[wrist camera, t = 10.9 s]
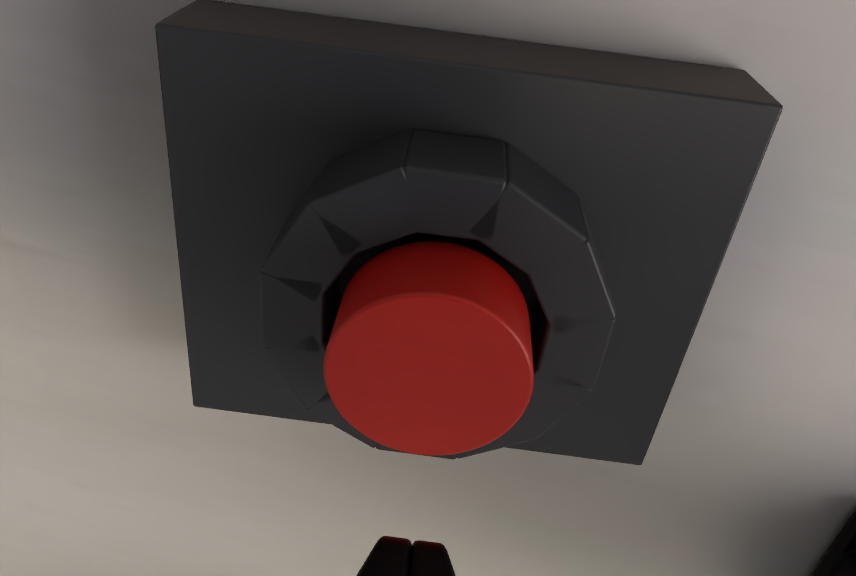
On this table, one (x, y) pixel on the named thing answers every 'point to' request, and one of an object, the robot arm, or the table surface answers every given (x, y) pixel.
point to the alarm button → (431, 350)
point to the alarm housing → (449, 203)
